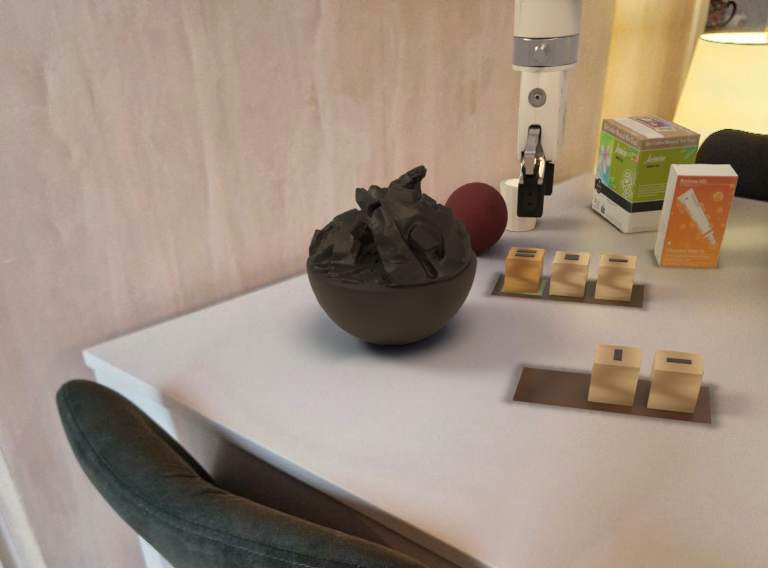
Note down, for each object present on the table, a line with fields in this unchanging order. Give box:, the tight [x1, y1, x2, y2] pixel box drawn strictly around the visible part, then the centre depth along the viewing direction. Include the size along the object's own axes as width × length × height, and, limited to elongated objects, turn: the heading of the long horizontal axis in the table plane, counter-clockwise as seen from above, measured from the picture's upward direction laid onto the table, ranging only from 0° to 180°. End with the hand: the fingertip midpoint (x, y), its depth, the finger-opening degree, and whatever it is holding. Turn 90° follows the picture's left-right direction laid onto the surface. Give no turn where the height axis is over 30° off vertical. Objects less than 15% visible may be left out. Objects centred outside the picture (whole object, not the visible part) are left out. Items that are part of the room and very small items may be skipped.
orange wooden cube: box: [504, 246, 546, 293], centre depth 104 cm, size 5×5×5 cm
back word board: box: [490, 250, 645, 309], centre depth 103 cm, size 20×8×5 cm, turn 73°
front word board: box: [512, 343, 712, 425], centre depth 80 cm, size 20×8×5 cm, turn 73°
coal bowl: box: [305, 164, 478, 346], centre depth 89 cm, size 20×20×19 cm
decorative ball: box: [444, 181, 508, 253], centre depth 116 cm, size 10×10×10 cm
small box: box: [653, 163, 739, 268], centre depth 109 cm, size 8×6×13 cm
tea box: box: [591, 114, 702, 234], centre depth 124 cm, size 15×10×15 cm, turn 10°
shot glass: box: [499, 177, 538, 232], centre depth 126 cm, size 7×7×7 cm
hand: (534, 205), depth 99 cm, fingers open, 9 cm apart
